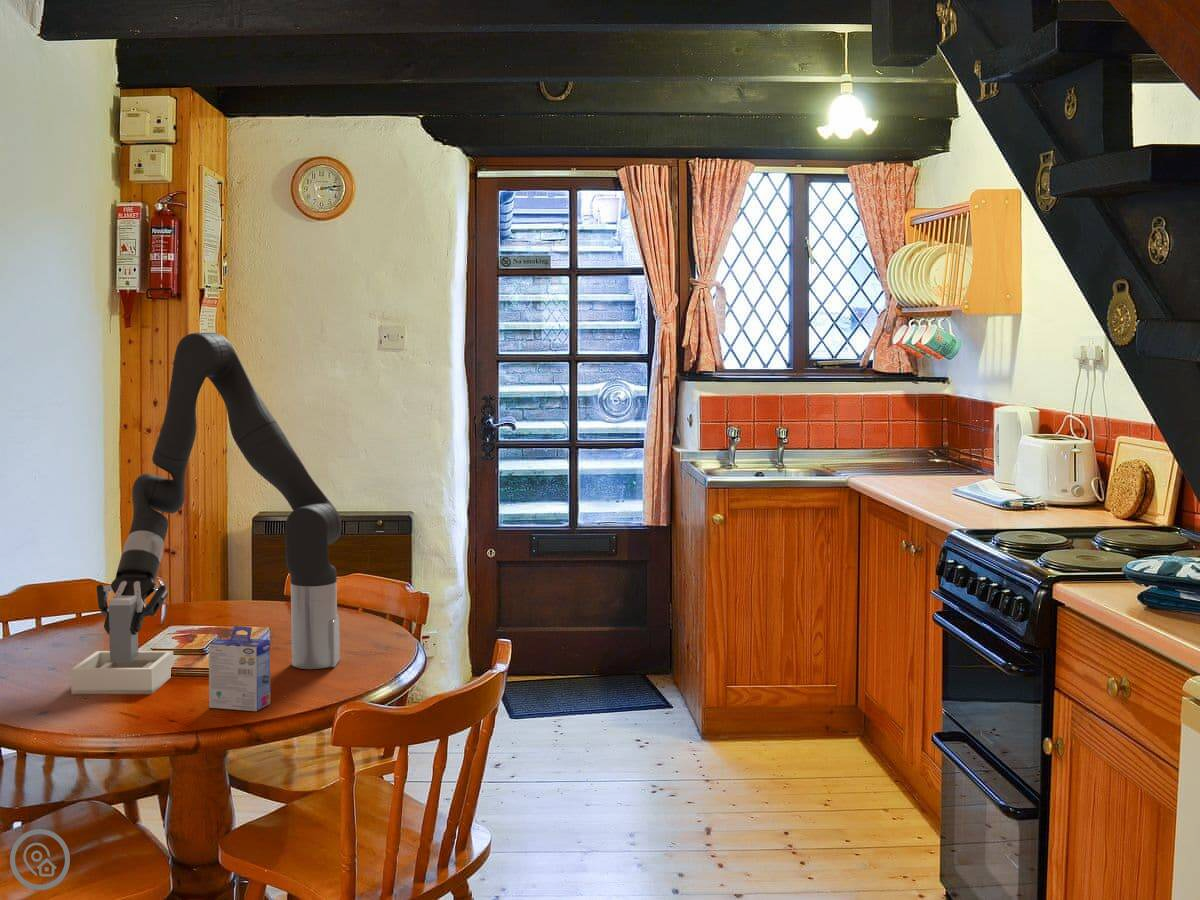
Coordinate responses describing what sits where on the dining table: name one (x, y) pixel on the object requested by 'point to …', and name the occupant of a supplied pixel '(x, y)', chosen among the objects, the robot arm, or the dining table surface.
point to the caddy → (122, 673)
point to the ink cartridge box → (239, 672)
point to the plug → (122, 628)
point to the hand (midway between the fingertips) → (121, 632)
